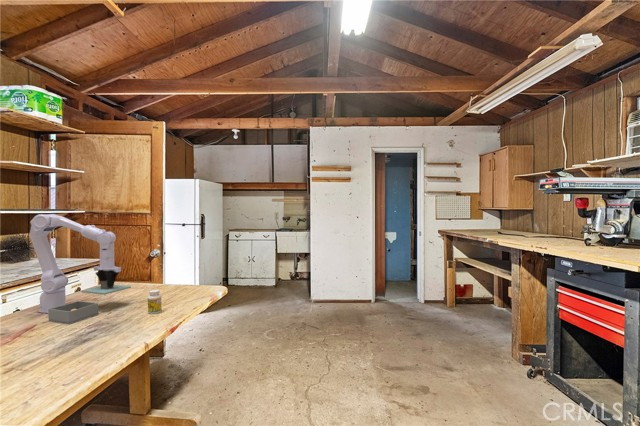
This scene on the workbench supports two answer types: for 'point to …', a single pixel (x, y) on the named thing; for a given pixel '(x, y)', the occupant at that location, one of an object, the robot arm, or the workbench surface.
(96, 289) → the teal lid
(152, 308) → the supplement bottle
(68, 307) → the grey bin
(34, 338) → the workbench surface
